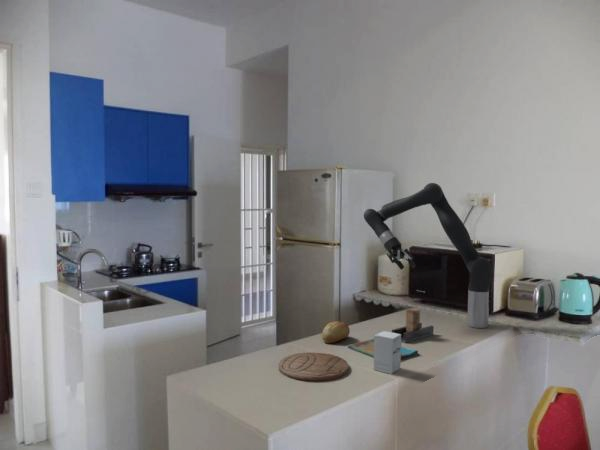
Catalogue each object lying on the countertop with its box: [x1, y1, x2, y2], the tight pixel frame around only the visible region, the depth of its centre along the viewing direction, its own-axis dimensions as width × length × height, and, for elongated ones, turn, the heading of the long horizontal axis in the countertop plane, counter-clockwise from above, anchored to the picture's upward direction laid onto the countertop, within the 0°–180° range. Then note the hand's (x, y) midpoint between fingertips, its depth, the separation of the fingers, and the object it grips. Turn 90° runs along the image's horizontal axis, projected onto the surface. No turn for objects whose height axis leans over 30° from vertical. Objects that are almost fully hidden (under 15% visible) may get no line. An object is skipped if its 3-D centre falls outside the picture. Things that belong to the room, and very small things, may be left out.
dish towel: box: [347, 338, 420, 361], centre depth 187 cm, size 17×23×2 cm
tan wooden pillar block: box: [405, 308, 421, 332], centre depth 207 cm, size 5×4×11 cm
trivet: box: [278, 352, 349, 383], centre depth 167 cm, size 25×25×2 cm
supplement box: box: [373, 330, 402, 375], centre depth 167 cm, size 7×7×13 cm
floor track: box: [391, 322, 435, 344], centre depth 207 cm, size 20×8×4 cm, turn 129°
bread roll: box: [321, 321, 351, 344], centre depth 201 cm, size 10×15×8 cm, turn 140°
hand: (408, 267), depth 220 cm, fingers open, 8 cm apart
